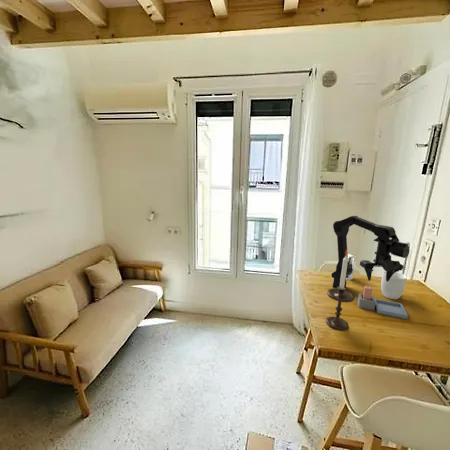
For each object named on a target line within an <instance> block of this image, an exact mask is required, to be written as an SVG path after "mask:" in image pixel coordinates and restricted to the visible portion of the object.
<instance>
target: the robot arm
mask: <svg viewBox="0 0 450 450" xmlns="http://www.w3.org/2000/svg"><path fill="white" fill-rule="evenodd" d="M354 225H355V226H357V227H360V228H362V229H365V230H367V231H369V232H371V233H373V234H374V235H375V236H376V238H375V239H373V241H374V242H375V243H376V242H377V246H376V251H374V254H375V258H374V259H373V262H371V261H370V260H366V259H361V261H359V266H361V268H364V271H365V273H366V277H367V279H368V280H367V281H368V282H370V281H371V279H372V274H373V273H372V272H373V271H374V267H375V268H376V267H377V268H383V270H384V271H386V281H387V282H388V281H389V280H390V278H391V277H392V275H393V274H394V273H395V272H398V273H400V271H402V270H403V264H401V262H400V261H399V260H392V256H396V257H398V258H399V257H400V258H403V259H406V258H408V256H409V254H410V247H409V243H407V242H401V241H400V239H399V237H398V236H397V234H396V233H397V232H396V230H395V228H394V227H392V226H389V225H383V224H377V223H374V222H372V221H370V220H366V219H364V218H362V217H359V216H357V215H351V216H348V217H346V218H344V219H341V220H336V221H334V223H333V224H332V228H333V232H334V234H335V236H336V239H337V255H338V256H337V257H338V258H337V259H338V261H337V264H336V266H335V271H333V272H332V273H331V278H333V282H332V289H337V287H339V286H340V279H341V272H342V264H343V258H345V256H347V259H348V254H349V253H347V255H345V252H346V249H347V250H348V241H347V235H348V234H349V231H350V227H352V226H354ZM352 271H353V270H352V264H349V262H348V263H347V271H346V278H347V277H348V276H349V275H351V274H352ZM353 272H354V271H353ZM346 278H345V285H344V288H346V289H347V279H346Z"/></svg>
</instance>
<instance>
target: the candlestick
mask: <svg viewBox="0 0 450 450" xmlns="http://www.w3.org/2000/svg"><path fill="white" fill-rule="evenodd" d="M347 254H348V248H347V249H346V252H345V255H347ZM347 263H348V259H347V256H345V258H343V264H342V272H341V279H340V286H339V287H337V288H330V289H328V290H327V293H326V295H327V296H328V297H329V298H330V299H331V300H334V301H337V306H335V312H334V313H335V316H328V317H326V320H325V324H326V325H327V326H328V327H330V328H332V329H334V330H339V331H344V330H345V331H346V330H347V329H348V328H349V323H348V322H347V320H344V318H341V315H342V313H341V312H342V311H343V308H342V303H352V302H354V301H355V298H356V297H355V295H354V293H352V292H351V291H348V290H347V287H346V288H344V285H345V278H346V271H347Z"/></svg>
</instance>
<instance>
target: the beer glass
mask: <svg viewBox="0 0 450 450" xmlns="http://www.w3.org/2000/svg"><path fill="white" fill-rule="evenodd" d="M347 254H348V262H349V264H352V270H353V271H352V274H351V275H349V276H348V277H347V278H346V280H349V281H351V280H353V279H354V271H355V269H356V265H357V255H355V254H352V253H347Z"/></svg>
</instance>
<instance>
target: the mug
mask: <svg viewBox="0 0 450 450" xmlns="http://www.w3.org/2000/svg"><path fill="white" fill-rule="evenodd" d="M406 284H407V276H406V275H405V274H403V273H400V272H395V273H394V274H393V275H392V277H391V278H390V280H389V281H388V282H387V281H386V271H385V270H384V271H383V272H382V276H381V281H380V288H381V293H382V296H384V297H385V298H387V299H390V300H398V299H399V298H400V297H402V295H403V293H404V291H405V289H406V288H405V287H406Z"/></svg>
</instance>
